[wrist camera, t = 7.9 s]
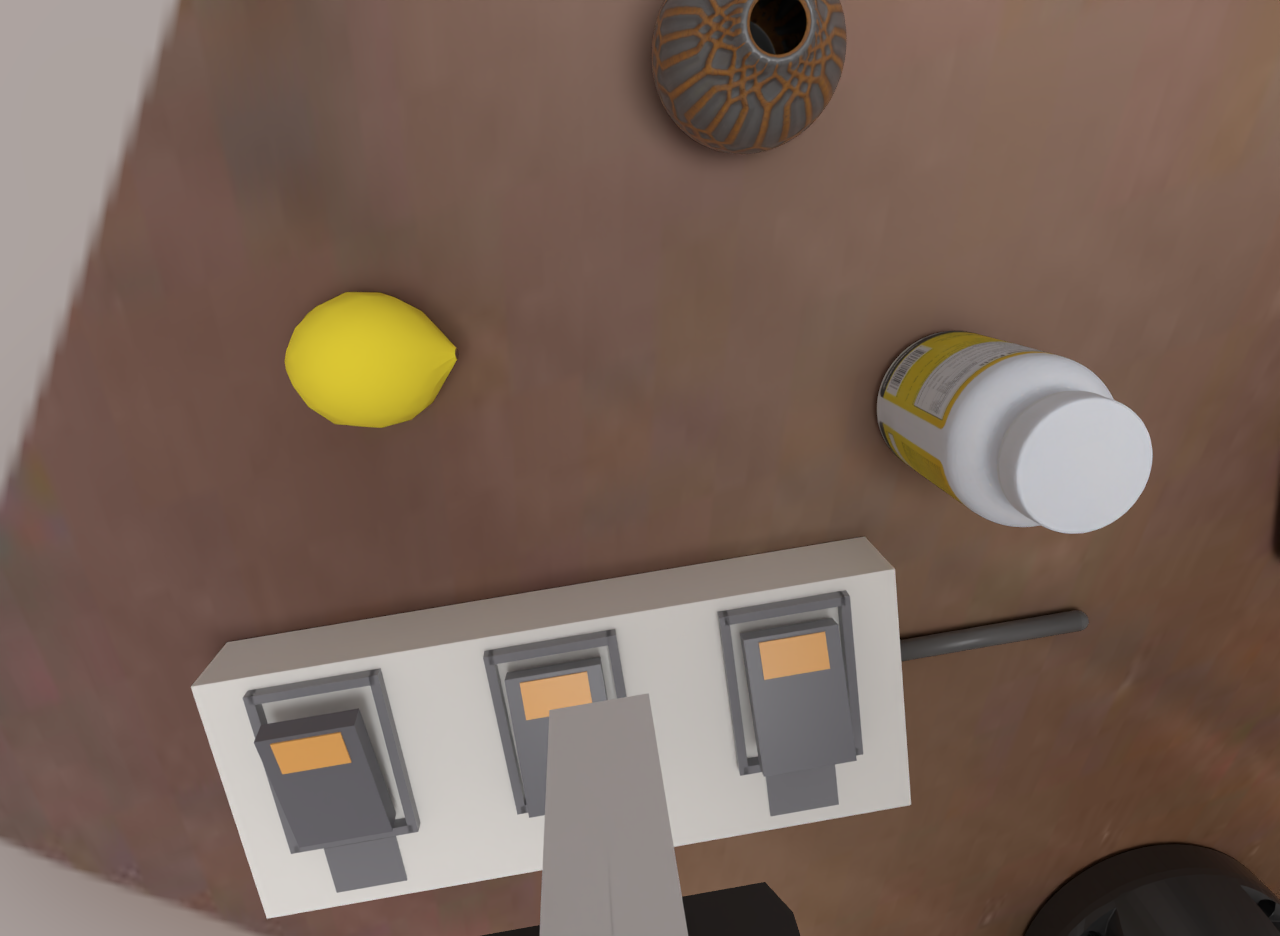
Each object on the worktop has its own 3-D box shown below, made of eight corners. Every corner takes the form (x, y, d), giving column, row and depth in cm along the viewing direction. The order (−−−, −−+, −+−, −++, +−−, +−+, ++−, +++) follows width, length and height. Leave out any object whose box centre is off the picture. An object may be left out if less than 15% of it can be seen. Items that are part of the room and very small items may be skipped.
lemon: (323, 415, 38) (265, 446, 33) (304, 289, 37) (240, 302, 32) (480, 408, 38) (446, 439, 33) (467, 281, 36) (429, 292, 31)
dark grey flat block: (623, 790, 38) (623, 802, 37) (531, 806, 38) (529, 818, 37) (600, 656, 37) (600, 664, 36) (506, 672, 37) (504, 680, 36)
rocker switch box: (1081, 719, 45) (1137, 774, 41) (293, 857, 44) (262, 928, 39) (1081, 500, 42) (1141, 533, 37) (226, 642, 40) (184, 694, 36)
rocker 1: (396, 813, 38) (392, 832, 37) (305, 829, 38) (298, 848, 37) (359, 708, 36) (353, 726, 35) (260, 724, 36) (253, 743, 35)
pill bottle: (976, 484, 41) (1128, 582, 30) (850, 446, 40) (958, 533, 29) (1033, 351, 39) (1215, 403, 28) (903, 308, 38) (1038, 345, 27)
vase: (702, -64, 34) (745, -158, 25) (846, 38, 35) (932, -19, 27) (612, 100, 35) (625, 63, 27) (755, 192, 37) (809, 184, 28)
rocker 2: (849, 750, 38) (857, 761, 37) (759, 766, 38) (764, 777, 37) (831, 617, 37) (838, 624, 36) (739, 633, 37) (743, 640, 36)
